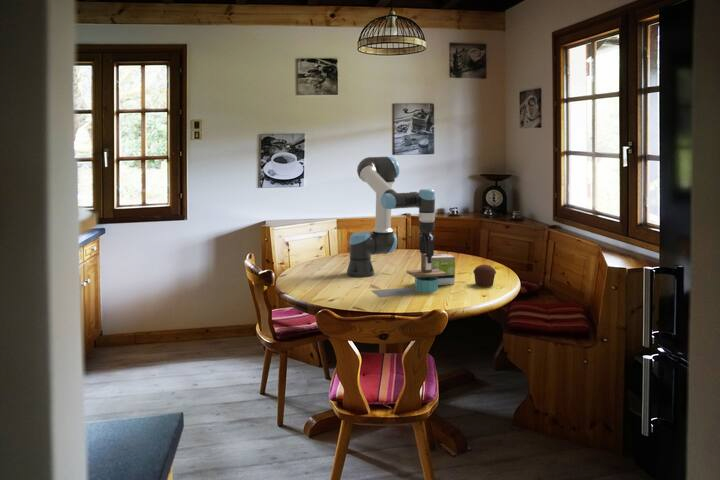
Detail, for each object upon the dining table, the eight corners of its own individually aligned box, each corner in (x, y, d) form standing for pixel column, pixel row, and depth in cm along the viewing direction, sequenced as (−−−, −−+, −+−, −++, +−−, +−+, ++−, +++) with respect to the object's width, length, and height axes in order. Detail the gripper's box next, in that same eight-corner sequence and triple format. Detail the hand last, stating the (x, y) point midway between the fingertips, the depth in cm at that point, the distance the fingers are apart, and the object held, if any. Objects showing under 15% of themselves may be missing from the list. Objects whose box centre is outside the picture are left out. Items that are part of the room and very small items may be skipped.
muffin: (468, 284, 309) (468, 265, 308) (482, 281, 316) (482, 262, 315) (486, 288, 300) (487, 268, 299) (500, 284, 307) (501, 265, 306)
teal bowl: (411, 288, 301) (411, 276, 300) (432, 287, 304) (432, 275, 303) (420, 293, 290) (420, 281, 289) (441, 291, 293) (441, 279, 292)
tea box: (427, 286, 305) (427, 257, 303) (420, 282, 314) (420, 254, 312) (455, 284, 309) (455, 256, 307) (447, 280, 318) (447, 253, 316)
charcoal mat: (370, 291, 296) (370, 290, 296) (408, 288, 302) (408, 287, 302) (379, 298, 283) (379, 297, 283) (419, 294, 288) (419, 293, 288)
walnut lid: (406, 273, 299) (406, 253, 297) (436, 270, 304) (436, 251, 302) (415, 277, 288) (416, 257, 286) (446, 275, 292) (446, 255, 291)
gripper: (412, 219, 299) (412, 266, 302) (426, 223, 283) (426, 272, 286) (426, 219, 301) (426, 265, 304) (441, 222, 285) (440, 271, 288)
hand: (426, 268), depth 295 cm, fingers closed on walnut lid, 4 cm apart
